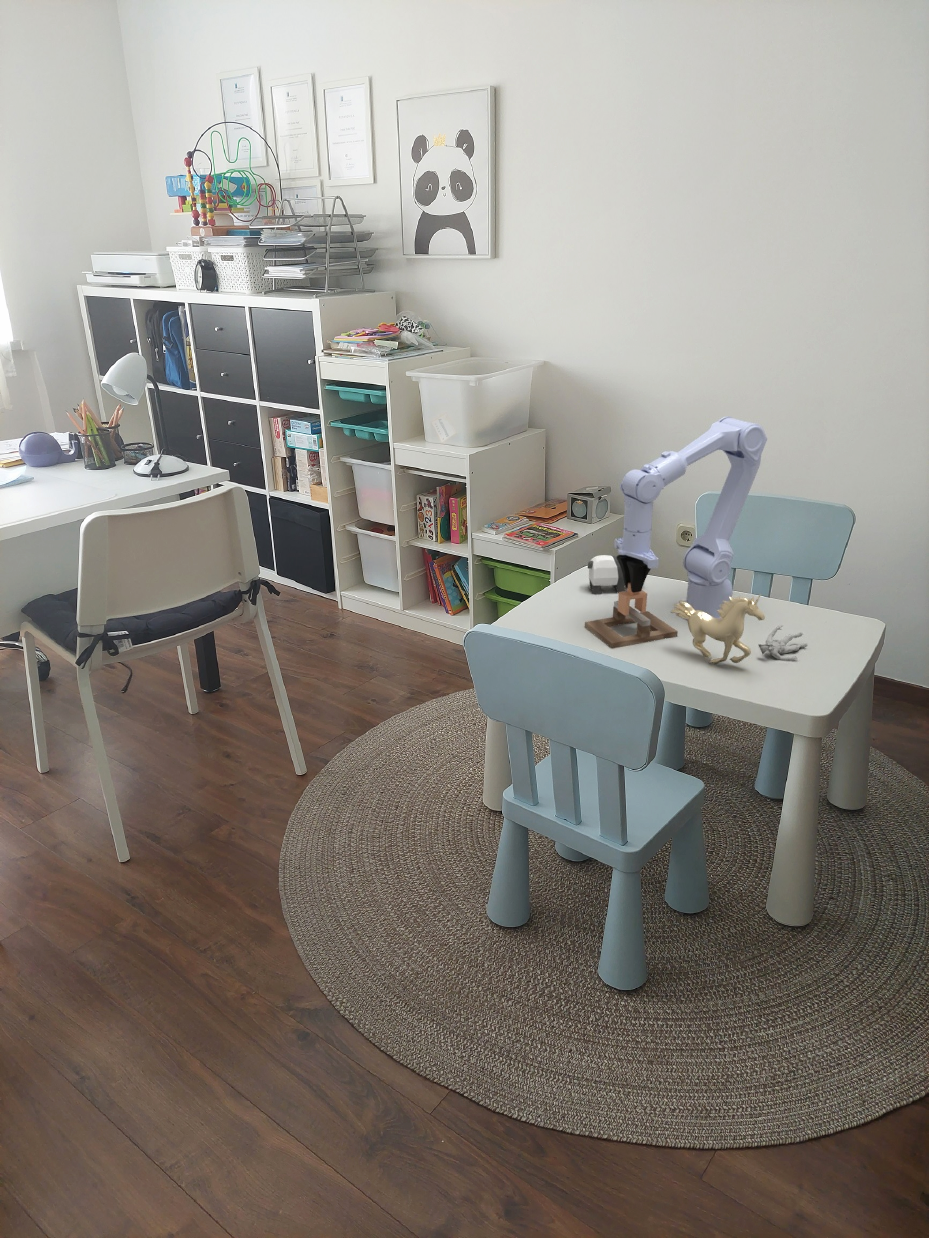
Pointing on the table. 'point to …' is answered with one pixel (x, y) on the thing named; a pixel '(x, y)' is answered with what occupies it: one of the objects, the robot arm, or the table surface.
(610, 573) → the giant panda
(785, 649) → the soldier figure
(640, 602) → the block
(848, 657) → the table surface
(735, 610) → the unicorn
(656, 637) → the brown wooden frame
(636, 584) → the robot arm
